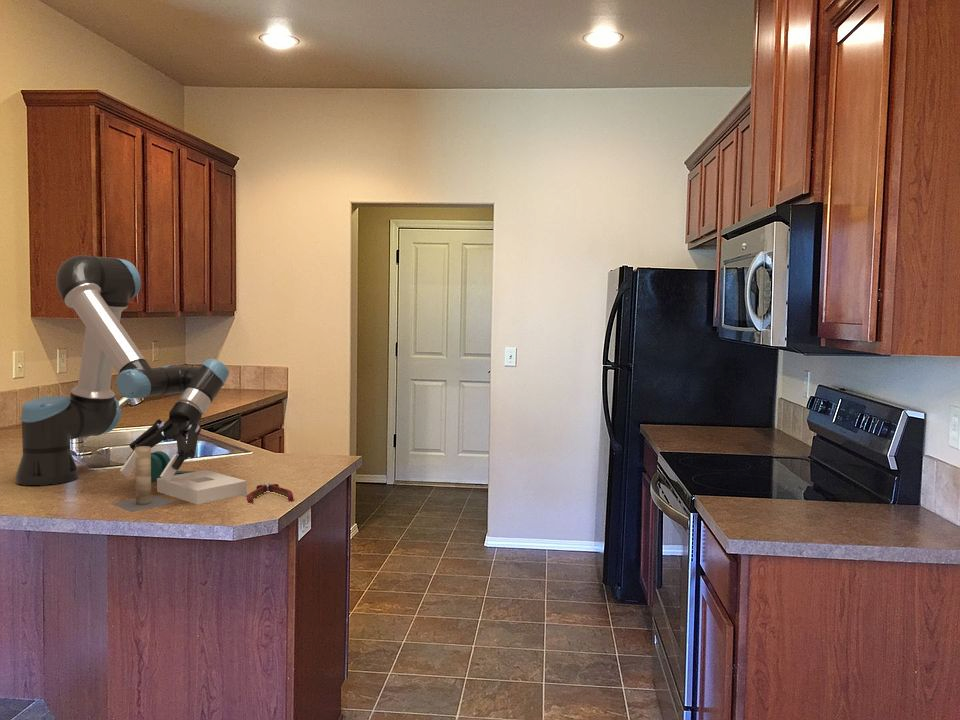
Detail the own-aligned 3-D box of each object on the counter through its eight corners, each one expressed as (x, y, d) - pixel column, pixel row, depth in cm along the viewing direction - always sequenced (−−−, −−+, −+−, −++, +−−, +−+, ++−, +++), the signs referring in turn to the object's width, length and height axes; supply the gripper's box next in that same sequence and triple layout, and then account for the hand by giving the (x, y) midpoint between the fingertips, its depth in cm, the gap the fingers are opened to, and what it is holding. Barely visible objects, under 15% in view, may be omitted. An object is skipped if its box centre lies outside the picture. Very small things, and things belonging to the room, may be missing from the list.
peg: (133, 503, 177) (132, 447, 176) (147, 500, 179) (146, 445, 179) (140, 505, 174) (139, 449, 174) (154, 503, 177) (153, 447, 176)
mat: (110, 505, 176) (110, 503, 176) (154, 497, 185) (154, 495, 185) (132, 513, 169) (131, 511, 169) (176, 504, 178) (176, 502, 178)
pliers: (286, 485, 201) (286, 476, 201) (294, 503, 182) (294, 493, 182) (244, 488, 197) (244, 479, 197) (247, 507, 178) (247, 497, 178)
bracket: (135, 482, 201) (134, 455, 200) (148, 477, 208) (148, 450, 207) (196, 485, 199) (195, 457, 199) (207, 479, 206) (207, 452, 205)
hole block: (157, 493, 189) (157, 478, 189) (205, 483, 200) (205, 469, 199) (197, 506, 176) (197, 490, 176) (246, 495, 187) (246, 480, 187)
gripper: (233, 420, 186) (190, 490, 174) (162, 414, 196) (117, 479, 183) (218, 403, 181) (172, 473, 168) (146, 397, 191) (98, 463, 178)
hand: (143, 476), depth 176 cm, fingers open, 13 cm apart
